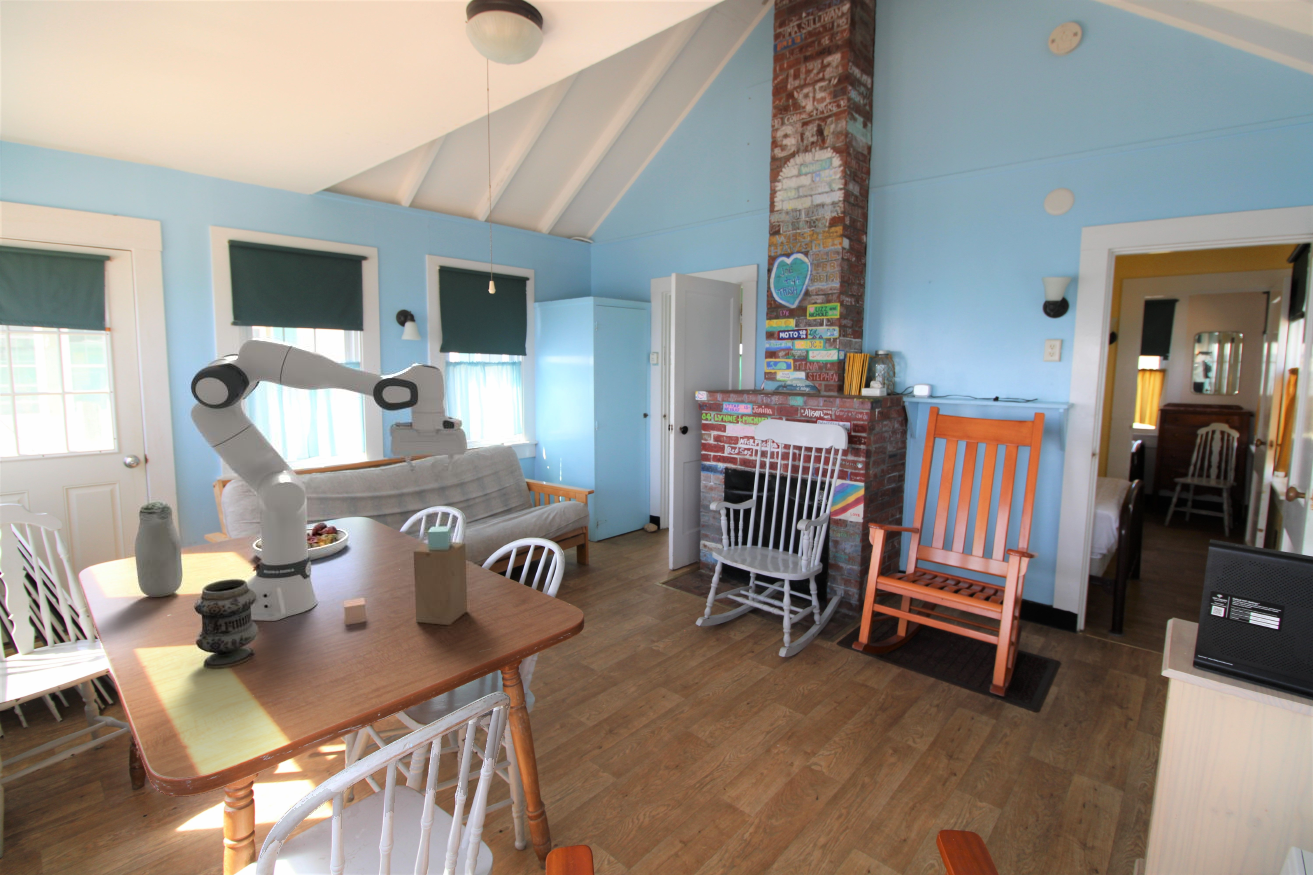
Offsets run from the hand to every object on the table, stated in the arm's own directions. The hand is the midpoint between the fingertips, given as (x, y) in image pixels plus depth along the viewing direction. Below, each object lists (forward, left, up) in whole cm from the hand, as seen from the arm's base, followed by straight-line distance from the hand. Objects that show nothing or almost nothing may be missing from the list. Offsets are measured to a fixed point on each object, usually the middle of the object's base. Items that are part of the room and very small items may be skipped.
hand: (430, 470), depth 174 cm
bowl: (-56, +55, -40) cm, 88 cm away
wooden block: (+4, -10, -39) cm, 41 cm away
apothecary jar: (-41, -28, -39) cm, 63 cm away
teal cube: (+4, -10, -19) cm, 22 cm away
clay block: (-19, -9, -39) cm, 45 cm away
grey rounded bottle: (-80, +16, -39) cm, 91 cm away
